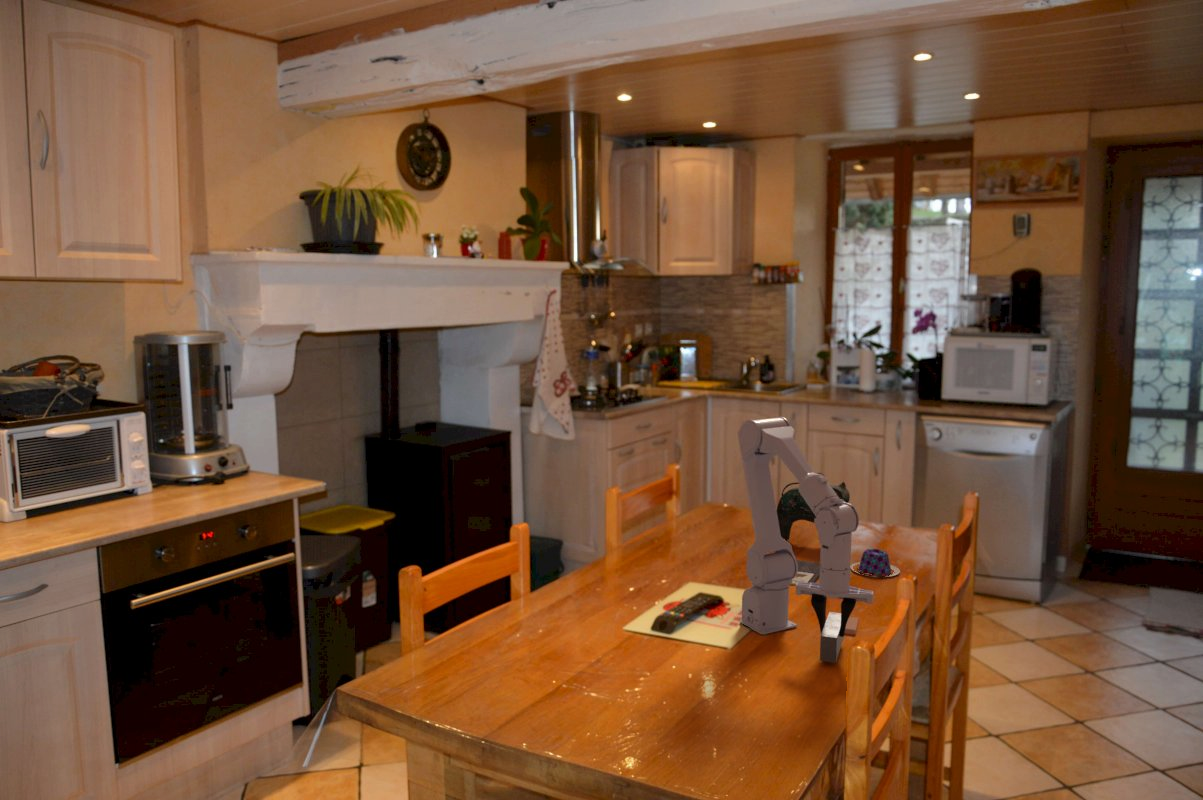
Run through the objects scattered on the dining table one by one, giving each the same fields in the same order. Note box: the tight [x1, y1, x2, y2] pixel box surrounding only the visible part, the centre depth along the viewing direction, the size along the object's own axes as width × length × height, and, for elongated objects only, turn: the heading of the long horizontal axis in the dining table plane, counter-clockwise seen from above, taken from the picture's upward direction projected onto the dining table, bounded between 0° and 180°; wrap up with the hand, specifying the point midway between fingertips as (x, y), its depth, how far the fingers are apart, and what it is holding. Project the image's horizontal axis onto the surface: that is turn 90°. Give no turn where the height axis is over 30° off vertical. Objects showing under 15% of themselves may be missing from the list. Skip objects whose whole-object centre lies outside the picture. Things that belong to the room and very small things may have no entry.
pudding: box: [850, 548, 901, 578], centre depth 230 cm, size 12×12×5 cm
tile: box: [844, 616, 859, 636], centre depth 194 cm, size 2×6×7 cm
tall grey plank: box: [819, 611, 845, 664], centre depth 179 cm, size 12×3×5 cm, turn 159°
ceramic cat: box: [776, 472, 851, 541], centre depth 252 cm, size 20×6×20 cm, turn 58°
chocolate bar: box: [789, 559, 820, 586], centre depth 227 cm, size 9×1×18 cm
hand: (832, 633), depth 179 cm, fingers closed on tall grey plank, 3 cm apart
